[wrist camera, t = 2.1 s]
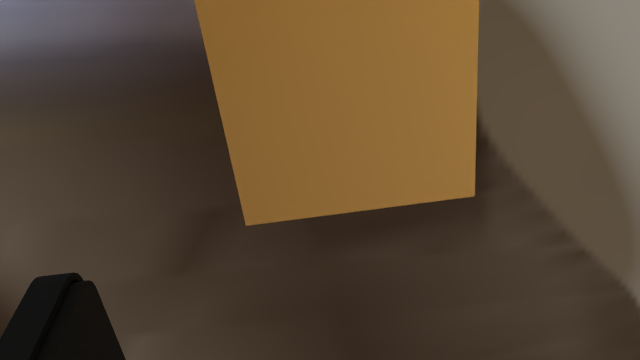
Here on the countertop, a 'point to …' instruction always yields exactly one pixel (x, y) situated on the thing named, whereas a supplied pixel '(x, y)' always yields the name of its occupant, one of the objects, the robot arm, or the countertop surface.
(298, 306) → the countertop surface
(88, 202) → the countertop surface
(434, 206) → the countertop surface
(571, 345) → the countertop surface
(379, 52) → the tan cardboard carton
